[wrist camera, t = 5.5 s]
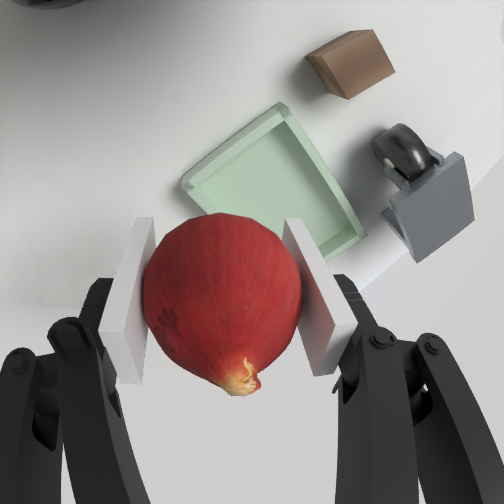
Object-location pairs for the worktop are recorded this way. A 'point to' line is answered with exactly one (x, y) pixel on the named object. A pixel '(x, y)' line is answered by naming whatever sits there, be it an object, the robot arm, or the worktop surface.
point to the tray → (276, 182)
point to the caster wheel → (423, 191)
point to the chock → (351, 63)
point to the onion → (223, 299)
